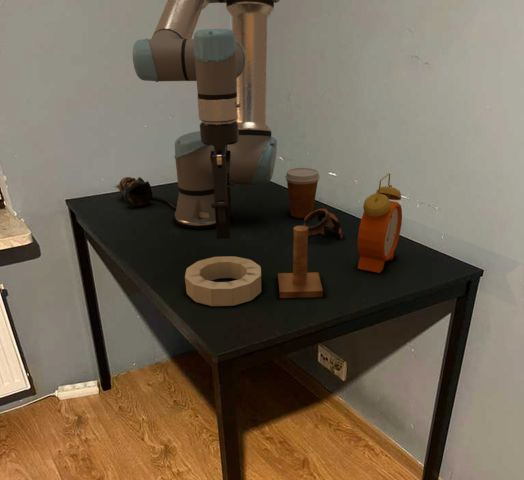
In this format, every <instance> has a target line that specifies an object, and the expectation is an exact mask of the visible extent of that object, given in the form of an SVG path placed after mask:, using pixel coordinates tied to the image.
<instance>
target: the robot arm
mask: <svg viewBox="0 0 524 480" xmlns="http://www.w3.org/2000/svg"><path fill="white" fill-rule="evenodd" d="M279 2H281V0H167V1H166V3H165V6H164V8H163V11H162V12H161V16H160V18H159V20H158V22H157V25H156V27H155V29H154V31H153V34H152V36H151V38H147V37H146V38H144V39H143V38H142V39H137V40H136V41H135V42H134V43H133V46H132V63H133V68H134V72H135V74H136V76H137V77H138V79H140V80H141V81H145V82H155V83H159V82H196V90H197V91H196V92H197V111H198V119H199V121H201V122H200V124H199V130H198V131H193V132H189V133H186V134H182V135H181V136H179V137H177V138H176V140H175V141H174V159H175V166H176V178H177V179H176V180H177V186H178V197H177V202H176V205H174V204H173V203H172V202H170V200H168V199H166V198H163V197H160V196H159V197H158V196H152V198H151V199H150V200H157V201H161V202H164V203H166V204H167V205H168V206H170V208H172V209H174V210H175V212H174V222H175V224H176V225H177V226H179V227H182V228H185V229H190V230H207V229H214V228H215V230H216V239H217V240H229V239H231V227H230V226H231V225H230V223H231V222H230V217H232V195H231V186H234V185H251V186H254V185H266V184H268V183H270V181H271V180H272V178H273V176H274V170H275V167H276V166H275V165H276V158H277V152H278V151H277V150H278V139H277V138H276V137H274V136H272V129H271V128H270V127H269V126H268V124H267V78H268V77H267V71H268V70H267V69H268V67H267V66H268V19H269V17H270V16H271V15H273V13H274V12H275V4H277V3H279ZM209 4H226V9H225V10H226V12H227V13H228V14H229V16H231V18H232V29H230V28H206V29H198V30H196V28H197V24H198V22H199V19H200V16H201V13H202V10H204V9H205V8H206V7H207V6H208V5H209ZM195 30H196V31H195ZM118 185H119V183H118V184H117V186H118Z"/></svg>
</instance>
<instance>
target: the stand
mask: <svg viewBox="0 0 524 480" xmlns="http://www.w3.org/2000/svg"><path fill="white" fill-rule="evenodd" d="M292 237H293V238H292V239H293V241H292V272H278V273H277V284H278V294H279V296H278V297H279V299H300V298H301V299H306V298H324V288H323V285H322V282H321V277H320V273H319V272H317V271H314V272H308V255H309V253H308V252H309V251H308V249H309V236H308V227H306V226H303V225H295V226H294V227H293V236H292Z"/></svg>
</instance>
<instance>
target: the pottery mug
mask: <svg viewBox="0 0 524 480" xmlns="http://www.w3.org/2000/svg"><path fill="white" fill-rule="evenodd" d="M313 218H316V219H317V220H318V222H317V223H316V224H314V225H308V223H309V222H310V221H311V220H313ZM302 226H306V227H308V237H313V236H317V235H326V233H325V229H328V228H330V229H331V233H337V234H338V236H339V239H340V240H342V239H343V230H342V226H341V223H340V221H339V218H338V217H336V215H335V214H333V213H332V212H330V210H329V209H328V207H322V208H317V209H315V210H313V212H311V213H310V214H308V215H307V216H306V217H305V218H303V224H302Z"/></svg>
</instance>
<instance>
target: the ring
mask: <svg viewBox="0 0 524 480" xmlns="http://www.w3.org/2000/svg"><path fill="white" fill-rule="evenodd" d="M219 279H234V280H231V281H220V282H219V281H214V280H219ZM184 282H185V292H186V295H187V296H188V297H190V298H191V300H193V301H194V302H195V303H199V304H202V305H206V306H210V307H232V306H238V305H240V304H241V305H242V304H243V303H247V302H251V301H253V300H254V299H255V298H256V297H258V296H259V295H260V294H261V293H262V266H261V265H260V264H259V263H256V262H255V261H254V260H252V259H250V258H245V257H239V256H236V255H235V256H234V255H233V256H231V255H230V256H229V255H228V256H213V257H208V258H205V259H200V260H198V261H196V262H194V263H193V264H191V265H190V266H188V267H187V268H186V270H185V274H184Z"/></svg>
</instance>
